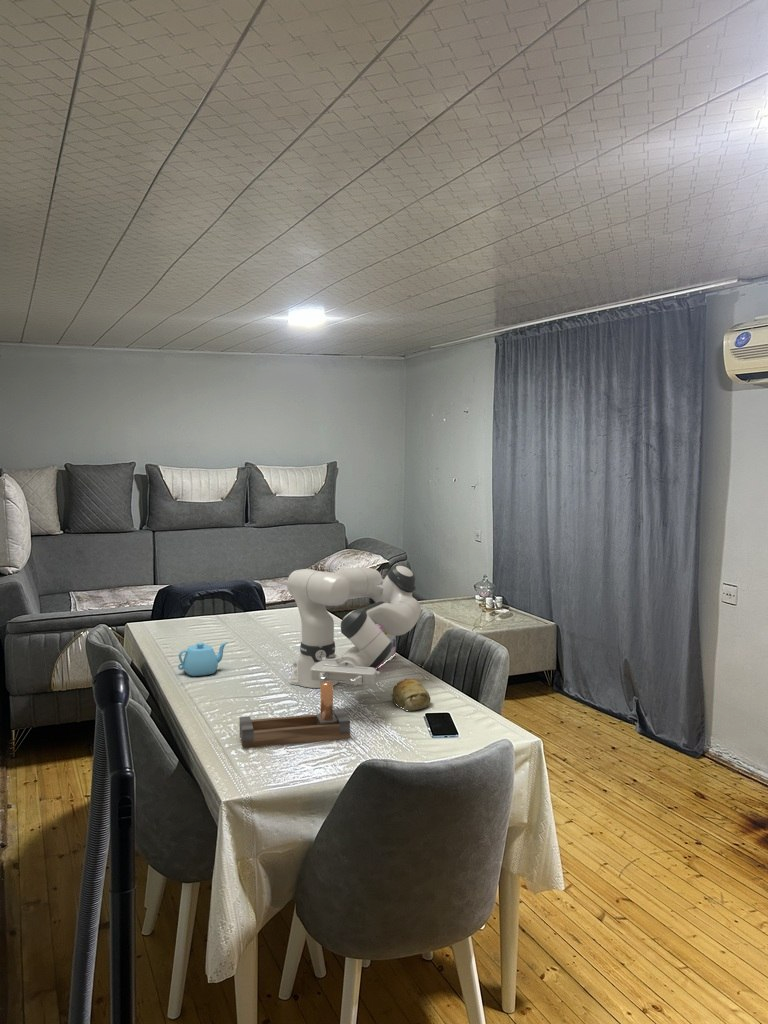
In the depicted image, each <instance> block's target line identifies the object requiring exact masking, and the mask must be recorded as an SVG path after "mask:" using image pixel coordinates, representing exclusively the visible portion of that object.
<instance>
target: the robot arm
mask: <svg viewBox="0 0 768 1024" xmlns="http://www.w3.org/2000/svg"><path fill="white" fill-rule="evenodd" d="M415 584H416V576H415V573H414V572H413V570H412V569H410V568H409V567H407V566H404V565H401V564H395V565H393V566H392V567H390V569H388V571H387V574H386V576H385V577H384V579H383V576H382V574H381V573H380V571H379V570H377V569H375V568H371V567H364V566H363V567H359V566H358V567H357V566H356V567H348V568H347V567H346V568H345V567H344V568H340V569H337V570H336V571H335V572H332V571H331V572H329V571H322V570H321V571H320V570H315V569H310V568H303V569H296V570H293V571H292V572H291V573H290V574H289V576H288V578H287V582H286V589H287V590H288V593H289V594H290V595H291V597H292V598H293V600H294V601H295V603H296V606H297V609H298V612H299V615H300V621H301V622H300V623H301V642H300V644H299V645H300V646H299V649H300V650H299V652H300V653H299V655H298V657H297V660H292V661H293V663H292V667H293V669H292V670H291V677H290V685H296V686H301V687H304V688H312V689H321V682H324V681H330V682H333V686H335V685H337V684H339V683H341V684H344V685H350V686H352V687H354V686H355V687H356V686H357V685H366V686H367V685H368V686H373V685H375V684H376V681H377V677H380V674H381V672H380V671H379V670H376V669H375V668H376V667H377V666H378V665H380V664H381V663H382V662H383V661H384V660H385V658H386V657H387V656H388V655H389V653H390V652H391V648H392V642H391V641H390V639H389V638H388V637H387V636H386V635H385V634H384V633H383V631H381V629H380V628H379V627H378V626H377V625H376V624H375V623H377V624H378V625H379V626H380V627H381V628H383V629H384V630H385V631H386V632H387V633H389V634H391V635H395V636H403V635H405V634H406V633H409V632H410V631H411V630H412V629H413V628H414V627H415V626H416V624H417V622H418V621H419V619H420V616H421V612H422V607H421V604H420V602H419V601H418V599H416V598H414V597H413V593H414V591H416V585H415ZM364 597H367V598H369V599H368V604H369V605H367V606H364V607H362V608H356V609H355V610H352V611H350V612H349V613H347V614H346V615H345V616H344V617H343V618H342V620H341V621H340V632H341V635H343V636H344V637H346V638H347V639H348V640H349V642H351V643H352V645H353V646H352V647H350V648H348V649H347V651H345V652H344V653H343V654H341V655H336V653H335V652H336V642H335V621H334V618H333V617H332V616H331V614H330V613H329V611H328V610H327V608H326V607H329V606H330V607H332V606H335V607H336V606H342V605H343V604H345V603H346V602H348V600H353V599H361V598H364Z"/></svg>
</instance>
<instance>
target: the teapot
mask: <svg viewBox="0 0 768 1024" xmlns="http://www.w3.org/2000/svg"><path fill="white" fill-rule="evenodd" d="M227 644H229V641H227V642H222V643H221V644H220V646H219V649H218V653H217V654H216V653H215V650H214V648H213V646H211V645H210V644H205V643H203V642H196V644H194V645H190V646H188V647H187V649H182V650H181V651H179V653H178V659H179V662H180V663H179V664H178V666H177V668H178V670H180V671H184V672H185V673H186V674H187V675H188V676H192V677H199V676H207V675H213V674H214V673H216V671H217V670H218V667H219V663H220V662H221V661H222V660H223V656H224V648H225V646H226V645H227ZM183 654H184V656H183V659H182V655H183Z"/></svg>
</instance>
